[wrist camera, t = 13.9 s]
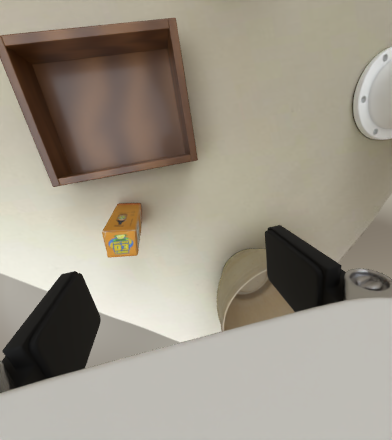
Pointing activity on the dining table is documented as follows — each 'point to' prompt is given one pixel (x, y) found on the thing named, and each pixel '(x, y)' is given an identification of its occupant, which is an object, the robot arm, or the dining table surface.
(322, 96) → the dining table surface
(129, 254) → the supplement box
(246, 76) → the dining table surface
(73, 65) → the wooden tray
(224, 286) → the planter bowl
